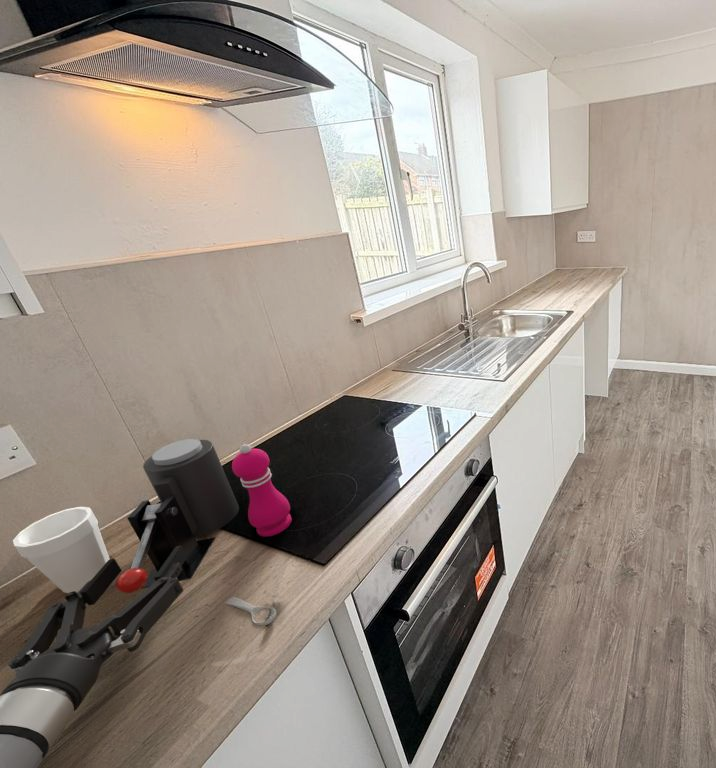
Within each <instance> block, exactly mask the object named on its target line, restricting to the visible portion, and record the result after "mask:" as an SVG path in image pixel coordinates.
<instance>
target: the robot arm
mask: <svg viewBox="0 0 716 768" xmlns="http://www.w3.org/2000/svg"><path fill="white" fill-rule="evenodd" d="M186 559H187V556H186V554H185V553H184V551H183V549H182V547H181V546H176V547H175V548H174V550H173V551H172V553H171V554H170V556H169V557H168V558H167V560H166V561H165V563H164V564H163V565H162V567H161V568H160V570H159V571H158V573H157V574H156V575H155V577H154V579H155V581H156V582H155V583H153V584H152V585H151V586H150V587H147V588H145V590H144V591H143V592H141V593H140V594H139V595H137V596H136V597H135V598H134V599H132V600H131V601H130V602H129V603H128V604H126V605H125V606H124V607H123V608H122V609H120V610H119V611H118V612H117V613H116V614H113V615H109V616H107V617H105V619H103V620H102V621H101V622H100V623H98V624H96V625H93V626H91V627H84V622H85V618H86V617H85V616H86V611H87V606H93V605H96V603H97V602H98V601H99V600H100V598H101V597H102V596H103V595H104V594H105V592H106V591H107V590H108V588H109V587H110V586H111V585H112V583H114V581H115V580H116V578H118V577H119V576H120V574H121V572H122V569H121V567H120V565H119V564H118V562H117V560H116V559H115V558H110V559H109V560H108V561H107V562H106V564H105V565H104V566H103V567H102V568H101V569H100V570H99V572H98V573H97V574H96V575H95V576H94V577H93V579H92V580H90V581H88V582H87V583H86V584H85V585H84V586H83V587H82V588H81V590H80V591H79V592H76V591H73V592H70V593H66V594H65V596H64V599H65V600H66V601H64V602H62V601H56V602H54V603H52V604H51V605H50V606H49V607H48V608H47V610H46V612H45V613H44V615H43V617H42V618H41V620H40V621H39V623H38V624H37V626H36V627H35V629H34V630H33V632H32V634H31V635H30V637H29V638H28V640H27V641H26V643H25V644H24V646H23V648H22V649H21V650H19V652H18V653H16V655H14V656H13V658H12V659H11V660H10V661H9V662H8V663H7V665H8V667H9V668H10V669H11V670H12V672H14V674H15V676H14V677H13V679H11V681H10V682H9V683H8V685H7V686H6V687H5V688H4V689H3V690H2V691H1V694H0V768H38V767H39V766H40V764H41V763H42V762H43V760H44V759H45V757H46V755H47V754H48V753H49V752H50V750H51V748H52V747H53V745H54V744H55V742H56V741H57V740H58V738H59V736H60V735H61V733H62V732H63V731H64V729H65V728H66V726H67V724H68V723H69V721H71V719H72V717H73V715H74V712H75V711H76V710H78V708H79V707H80V706H81V704H82V703H83V701H84V700H85V699H86V697H87V695H89V692H90V691H91V689H92V688H93V687H94V685H95V683H96V682H97V680H98V676H99V673H100V670H101V667H102V665H103V664H104V663H105V662H106V661H107V660H108V659H109V658H111V656H113V655H114V653H115V652H118V651H122V650H125V649H126V650H127V651H128V652H129V653H133V652H135V651H137V650H138V649H139V648H140V646H141V644H142V642H143V641H144V638H145V636H146V635H147V634H148V633H149V632H150V630H151V629H152V628H153V627H154V625H156V623H157V622H158V621H159V620H160V619H161V617H162V616H163V615H164V614H165V613H166V612H167V610H168V609H169V608H170V607H171V606H172V604H173V603H174V602H175V601H176V600H177V599H178V598H179V597H180V595H181V594H182V593H183V592H184V588H183V586H182V584H181V583H180V581H178V579H177V578H178V576H179V574H180V573H181V571H182V568H181V566H182V565H183V563H184V562H185V560H186ZM86 605H87V606H86ZM110 628H111V629H112V631H111V629H110ZM52 644H53V645H52Z"/></svg>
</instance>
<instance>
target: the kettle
mask: <svg viewBox="0 0 716 768" xmlns="http://www.w3.org/2000/svg"><path fill="white" fill-rule="evenodd" d="M142 468H143V471H144V472H145V474H146V476H147V478H148V480H149V482H150V484H151V486H152V488H153V490H154V491H155V494H156V496H157V497H158V499H159V503H163V502H164V501H165V500H166V499H167V498H168V497H170V496H175V498H176V500H177V502H178V504H179V506H180V509H181V511H182V513H183V515H184V517H185V519H186V521H187V523H188V525H189V527H190V529H191V531H192V533H193V535H194V537H195V539H197V538H200V537H203V536H206V535H209V534H212V533H214V532H216V531H218V530H220V529H222V528H223V527H225V526H226V525H228V524H229V523H230V522H231V521H232V520H234V518H235V517H236V516H237V515H238V513H239V511H240V506H239V503H238V501H237V499H236V496H235V494H234V491H233V489H232V487H231V484H230V482H229V480H228V477H227V475H226V472H225V470H224V468H223V465H222V462H221V461H220V458H219V455H218V454H217V451H216V449H215V446H214V444H213V442H212V441H211V440H208V439H197V438H187V439H181V440H178V441H174V442H172V443H168V444H166V445H165V446H162V447H160V448H159V449H158V450H155V452H154V453H153V454H152V455H151V456H150V457H148V458H147V459H146V460H145V461H144V463H143V464H142Z"/></svg>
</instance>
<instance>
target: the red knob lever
mask: <svg viewBox="0 0 716 768" xmlns="http://www.w3.org/2000/svg"><path fill="white" fill-rule="evenodd" d="M161 505H162V503H161V502H159V503H153V504H151V505H148V506H147V507H146V510H145V513H144V515H143V518H142V521H143V522H144V523H146V524H147V525H146V528H145V531H144V534H143V536H142V539H141V542H140V541H139V545H138V547H137V550H136V553H135V556H134V558H133V561H132V564H131V566H130V568H129V569H126V570H125V571H123V572H122V573H120V574H119V575H118V577H117V579H116V581H115V582H116V583H115V585H116V586H115V587H116V589H117V591H119V592H120V593H122V594H133V593H136V592H138V591H140V590H141V588H142V587H143V586H144V585H145V584H146V582H147V578H148V576H149V575H148V573H147V571H146V570H145V569H143V568H144V564H145V562H146V559H147V556H148V554H147V553H148V551H149V548H150V545H151V542H152V539H153V536H154V533H155V530H156V528H157V525H160V523H159V521H158V519H157V517H156V515H155V514H154V513H155V512H156V510H157V509H158V508H159V507H160V506H161ZM142 589H143V588H142Z"/></svg>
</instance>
